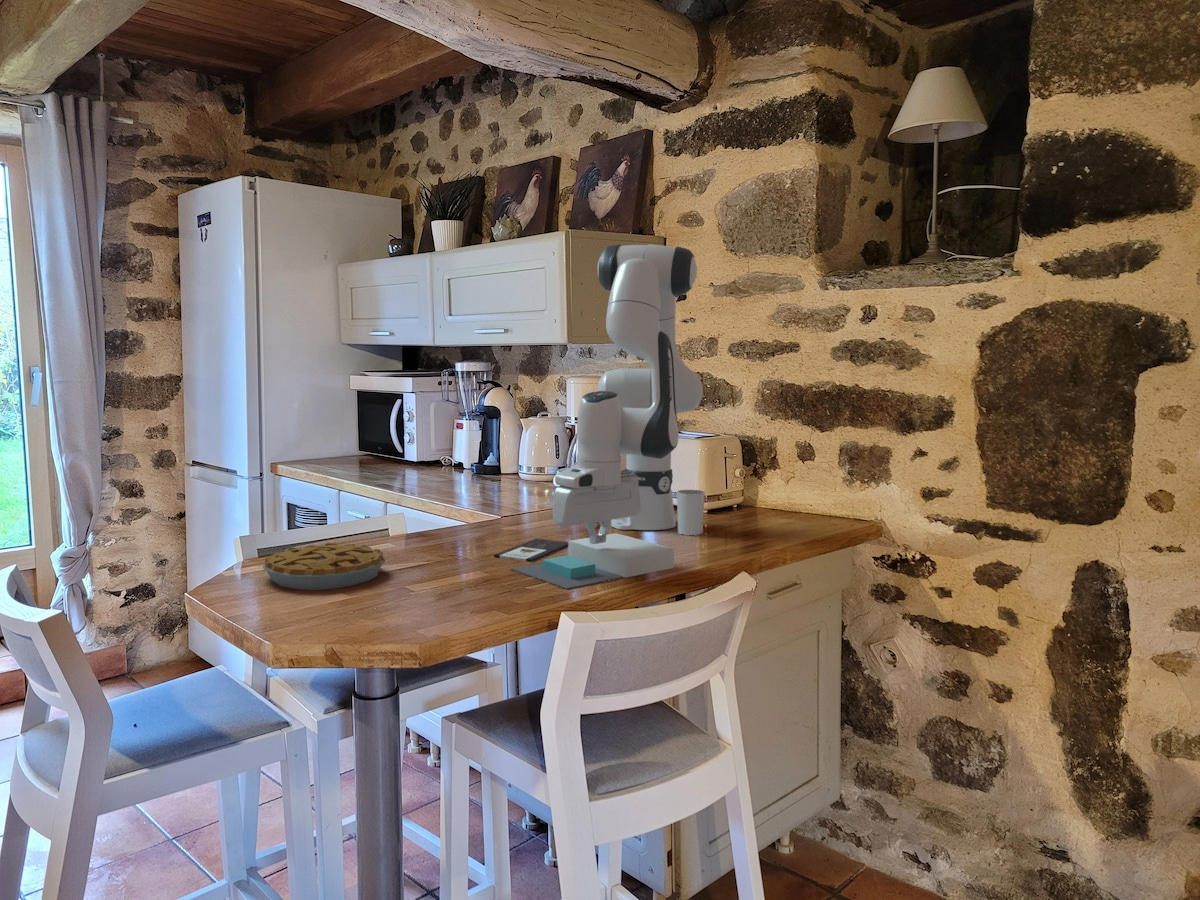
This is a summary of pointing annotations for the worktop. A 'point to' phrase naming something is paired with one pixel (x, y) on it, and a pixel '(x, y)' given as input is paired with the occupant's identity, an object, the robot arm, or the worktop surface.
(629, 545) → the grey flat block
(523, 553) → the chocolate bar
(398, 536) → the worktop surface
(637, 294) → the robot arm
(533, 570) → the mat
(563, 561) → the teal block
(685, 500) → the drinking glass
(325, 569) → the pie
